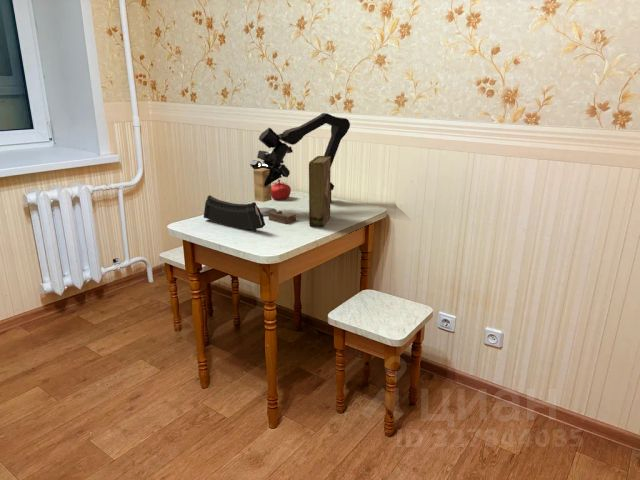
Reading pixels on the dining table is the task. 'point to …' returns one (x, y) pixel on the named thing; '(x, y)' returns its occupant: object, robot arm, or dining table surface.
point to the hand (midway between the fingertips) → (260, 184)
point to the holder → (281, 217)
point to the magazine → (234, 214)
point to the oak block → (262, 185)
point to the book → (319, 190)
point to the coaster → (267, 211)
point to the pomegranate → (280, 191)
